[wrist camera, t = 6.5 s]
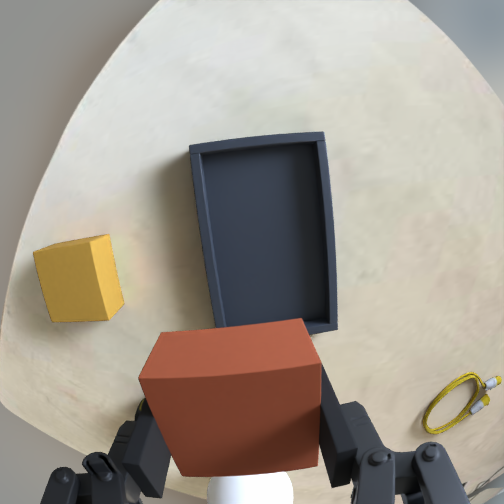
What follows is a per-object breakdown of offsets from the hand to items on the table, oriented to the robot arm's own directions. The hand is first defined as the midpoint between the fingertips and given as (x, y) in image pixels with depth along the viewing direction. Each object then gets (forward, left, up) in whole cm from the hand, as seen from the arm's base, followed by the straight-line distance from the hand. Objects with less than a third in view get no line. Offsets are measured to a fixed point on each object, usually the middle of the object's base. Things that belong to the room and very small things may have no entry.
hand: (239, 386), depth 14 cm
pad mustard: (-4, -15, -13) cm, 20 cm away
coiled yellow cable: (+24, +31, -13) cm, 41 cm away
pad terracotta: (0, 0, 0) cm, 0 cm away
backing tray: (-5, +3, -13) cm, 14 cm away
